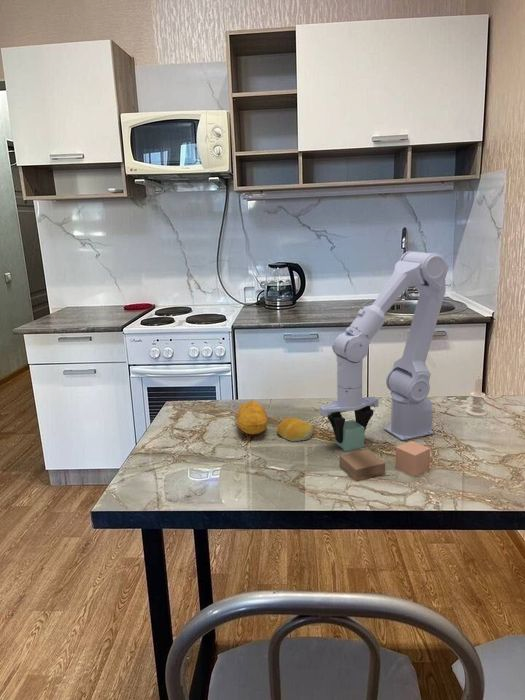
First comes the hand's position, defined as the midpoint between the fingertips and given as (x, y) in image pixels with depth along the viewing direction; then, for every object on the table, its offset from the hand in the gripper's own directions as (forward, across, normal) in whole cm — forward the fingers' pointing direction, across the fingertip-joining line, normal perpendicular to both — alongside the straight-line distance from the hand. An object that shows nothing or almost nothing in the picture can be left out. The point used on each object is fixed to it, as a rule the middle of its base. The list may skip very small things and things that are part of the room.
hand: (349, 439), depth 124 cm
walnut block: (+2, +4, +12) cm, 13 cm away
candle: (+2, -40, -2) cm, 40 cm away
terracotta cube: (+2, -6, +16) cm, 17 cm away
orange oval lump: (+2, +18, -18) cm, 26 cm away
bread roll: (+2, +9, -11) cm, 14 cm away
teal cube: (+1, 0, 0) cm, 1 cm away
